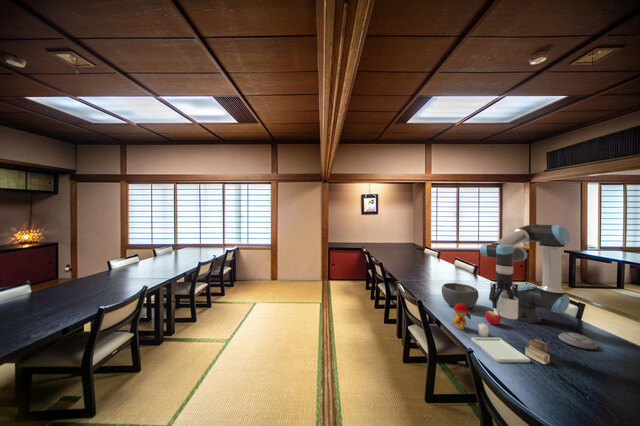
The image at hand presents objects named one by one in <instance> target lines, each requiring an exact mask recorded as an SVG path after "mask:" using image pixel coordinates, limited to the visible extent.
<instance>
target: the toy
mask: <svg viewBox="0 0 640 426" xmlns="http://www.w3.org/2000/svg"><path fill="white" fill-rule="evenodd" d="M452 309H453V310H454V313H455V315H454V317H453V319H452V322H453V323H454V324H455V325H456V327H457V328H458V330H463V331H464V330H465V326H466V325H467V321H466V318H465V316H466V317H467V318H468V319H469V320H470V321H471V315H472V314H471V313H472V312H471V311H470V310H469V308H466V306H465V305H464V304H461V303H458V304H456V306H455V307H453V306H452Z"/></svg>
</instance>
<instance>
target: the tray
mask: <svg viewBox="0 0 640 426" xmlns="http://www.w3.org/2000/svg"><path fill="white" fill-rule="evenodd" d="M470 340H471V342H472V343H474V344H475V346H478V348H479V349H481V350H482V351H484V352H485V353H486V354H487V356H489V357H490V358H492V359H493V360H494V361H495V362H496V363H531V358H530V357H528V356H526V355H525V354H523V353H522V352H520V351H519V350H517V349H516V348H515V347H513V346H512V345H511V344H509V343H508V342H507V341H505V340H503V339H502V338H501V337H470Z"/></svg>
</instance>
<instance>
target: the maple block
mask: <svg viewBox="0 0 640 426" xmlns="http://www.w3.org/2000/svg"><path fill="white" fill-rule="evenodd" d="M524 351H525V353H524V355H525V356H526V357H528V358H529V359H533V360H535V361H537V362H539V363H540V364H543V365H548V364H550V363H551V361H550V358H551V357H550V353H549V354H548V352H547V353H544V352H542V351H540V350H538V349H536V348H534V347H531V346H529V345H528V346H525V349H524Z"/></svg>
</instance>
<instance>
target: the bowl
mask: <svg viewBox="0 0 640 426" xmlns="http://www.w3.org/2000/svg"><path fill="white" fill-rule="evenodd" d="M441 286H442V287H441V294H442V298H443V299H444V301H445V302H446V303H447V304H448V305H449V306H451V307H452V308H453V307H455V306H456V304H458V303H461V304H464V305H465V306H466V308H467V309H471V308H472V307H473V306H475V305H476V304H477V302H478V300H479V297H480V296H479V291H478V290H477V288H476V287H474V286H471V285H468V284H465V283H458V282H457V283H456V282H448V283H447V282H446V283H444V284H442V285H441Z"/></svg>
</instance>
